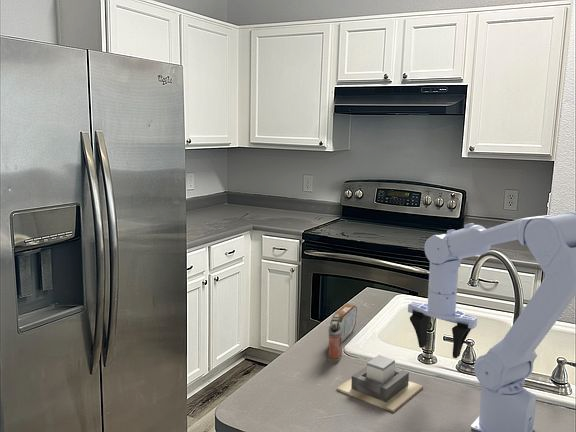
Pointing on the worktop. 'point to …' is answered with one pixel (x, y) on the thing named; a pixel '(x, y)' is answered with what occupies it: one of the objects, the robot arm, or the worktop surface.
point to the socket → (381, 389)
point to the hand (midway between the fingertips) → (439, 351)
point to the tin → (347, 319)
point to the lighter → (335, 340)
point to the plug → (380, 369)
